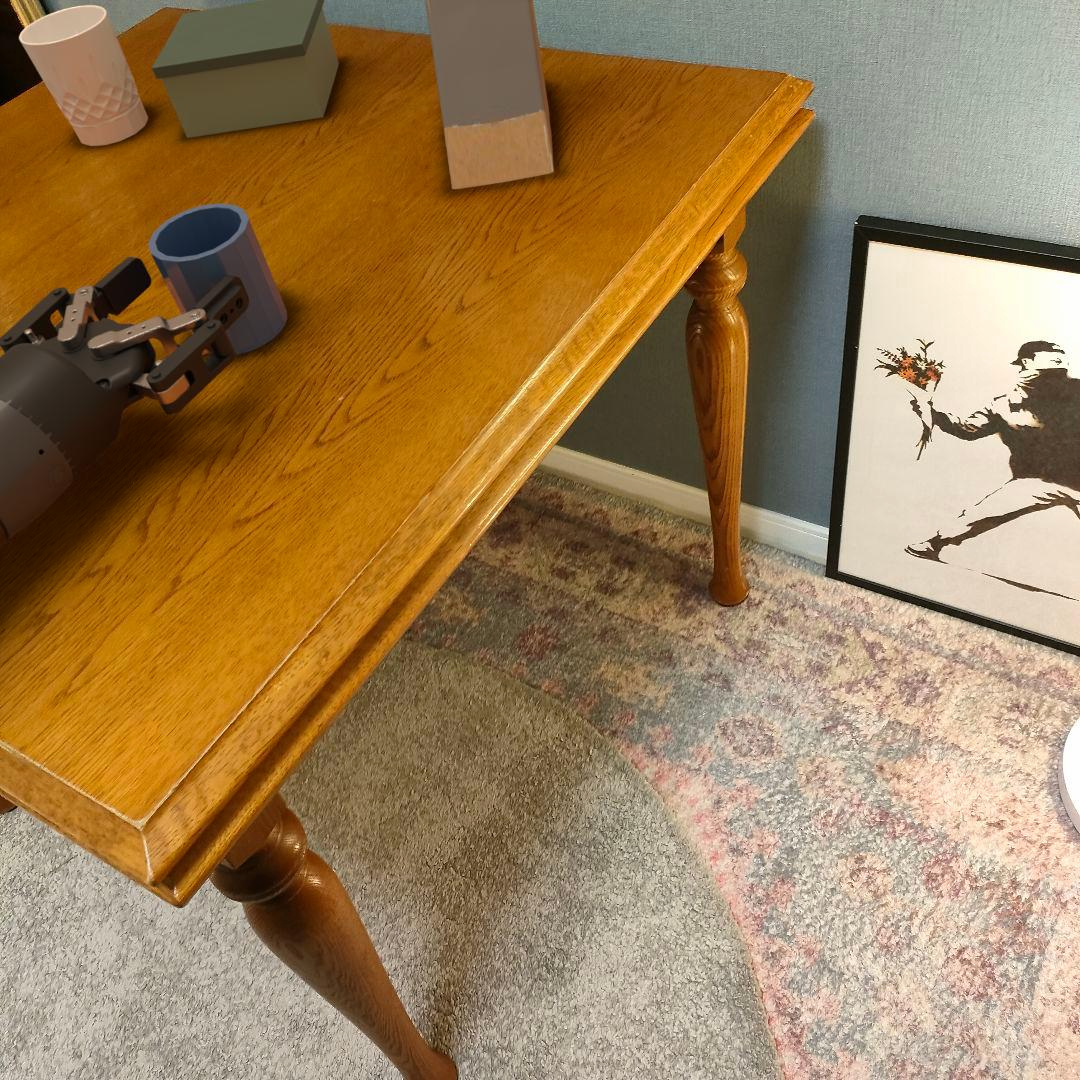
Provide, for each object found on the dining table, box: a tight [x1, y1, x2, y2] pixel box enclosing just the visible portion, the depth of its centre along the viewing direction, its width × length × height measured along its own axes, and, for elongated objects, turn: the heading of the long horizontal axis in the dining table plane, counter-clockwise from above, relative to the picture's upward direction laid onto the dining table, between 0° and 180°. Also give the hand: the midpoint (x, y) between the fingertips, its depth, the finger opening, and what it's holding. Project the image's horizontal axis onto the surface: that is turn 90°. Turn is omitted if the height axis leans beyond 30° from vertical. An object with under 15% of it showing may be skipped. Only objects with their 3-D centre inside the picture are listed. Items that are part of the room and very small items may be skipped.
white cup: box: [18, 4, 149, 147], centre depth 92 cm, size 8×8×10 cm
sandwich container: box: [424, 0, 555, 190], centre depth 78 cm, size 9×15×15 cm, turn 3°
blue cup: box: [147, 202, 288, 356], centre depth 68 cm, size 7×7×8 cm
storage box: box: [151, 0, 340, 139], centre depth 93 cm, size 14×12×7 cm
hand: (190, 277), depth 65 cm, fingers open, 8 cm apart
